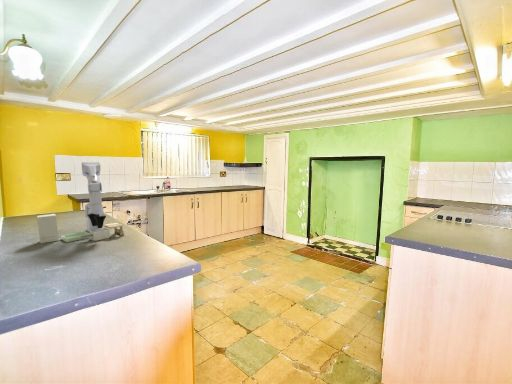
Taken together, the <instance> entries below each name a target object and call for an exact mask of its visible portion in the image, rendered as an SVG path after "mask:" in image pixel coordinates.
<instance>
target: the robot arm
mask: <svg viewBox="0 0 512 384" xmlns="http://www.w3.org/2000/svg"><path fill="white" fill-rule="evenodd" d="M81 171H82V172H81V173H82V176H83V177H86V179H87V191H88V198H89V202H88V203H86V204H85V206H84V215H85V218H86V229H85V230H84V231H85V232H88V233H90V231H92V230H97V229H102V228H103V227H104V222H105V219H106V218H107V216H106V215H105V213H104V206H103V203H102V202H103V201H102V192H103V187H102V186H103V185H102V182H101V181H100V177H99V176H100V174H101V163H100V162H99V161H96V162H95V161H94V162H93V161H92V162H91V161H90V162H88V161H87V162H85V161H82V162H81Z"/></svg>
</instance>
